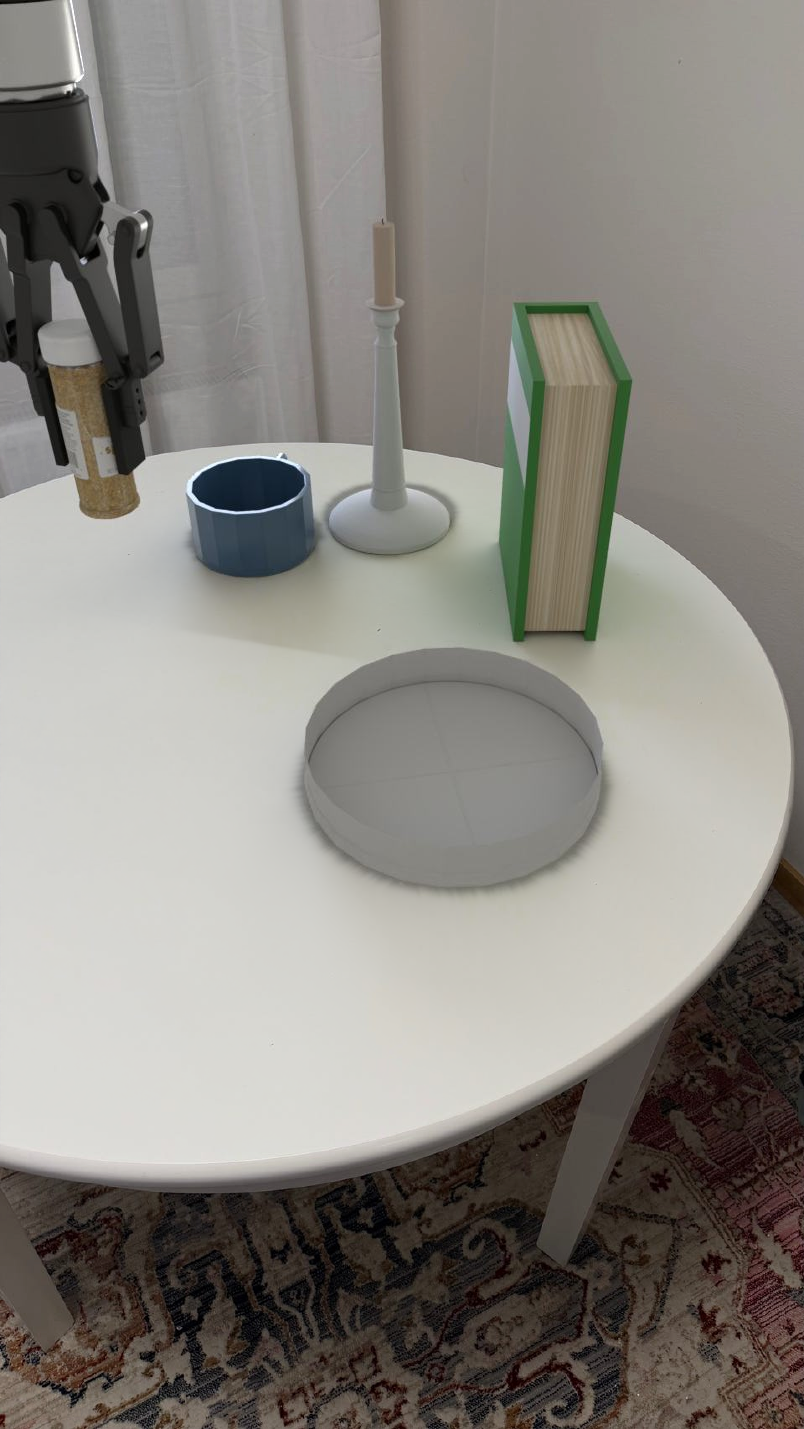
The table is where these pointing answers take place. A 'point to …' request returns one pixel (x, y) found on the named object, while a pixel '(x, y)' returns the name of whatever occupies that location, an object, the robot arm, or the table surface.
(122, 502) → the sprinkles bottle
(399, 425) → the candlestick
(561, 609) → the hardback book
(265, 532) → the blue pot
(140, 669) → the table surface
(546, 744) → the dish
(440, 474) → the table surface
